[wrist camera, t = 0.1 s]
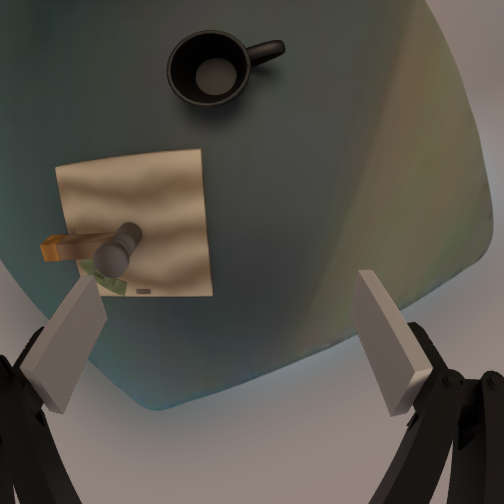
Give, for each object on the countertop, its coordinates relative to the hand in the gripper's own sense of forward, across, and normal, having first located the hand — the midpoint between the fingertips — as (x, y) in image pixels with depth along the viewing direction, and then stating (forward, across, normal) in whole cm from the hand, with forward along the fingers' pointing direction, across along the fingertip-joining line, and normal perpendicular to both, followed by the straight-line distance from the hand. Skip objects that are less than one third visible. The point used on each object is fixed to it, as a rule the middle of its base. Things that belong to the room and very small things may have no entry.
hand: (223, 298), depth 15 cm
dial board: (+28, -15, -8) cm, 33 cm away
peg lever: (+26, -21, -8) cm, 34 cm away
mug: (+28, 0, +13) cm, 31 cm away
